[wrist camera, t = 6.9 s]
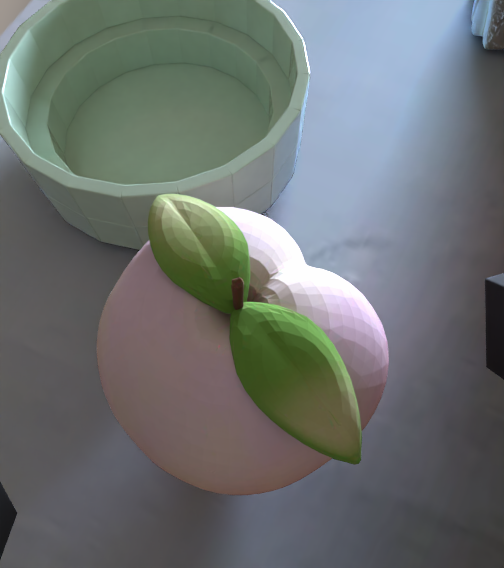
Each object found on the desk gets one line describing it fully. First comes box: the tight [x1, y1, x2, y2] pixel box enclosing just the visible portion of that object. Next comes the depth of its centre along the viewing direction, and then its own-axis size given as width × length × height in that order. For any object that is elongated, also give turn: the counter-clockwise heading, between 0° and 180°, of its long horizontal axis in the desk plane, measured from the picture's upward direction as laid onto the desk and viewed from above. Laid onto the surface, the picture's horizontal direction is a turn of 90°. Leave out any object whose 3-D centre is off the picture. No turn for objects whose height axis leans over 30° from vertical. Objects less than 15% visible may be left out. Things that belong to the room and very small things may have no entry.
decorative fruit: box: [97, 194, 389, 495], centre depth 14 cm, size 9×8×10 cm
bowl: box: [0, 0, 310, 250], centre depth 22 cm, size 14×14×5 cm
